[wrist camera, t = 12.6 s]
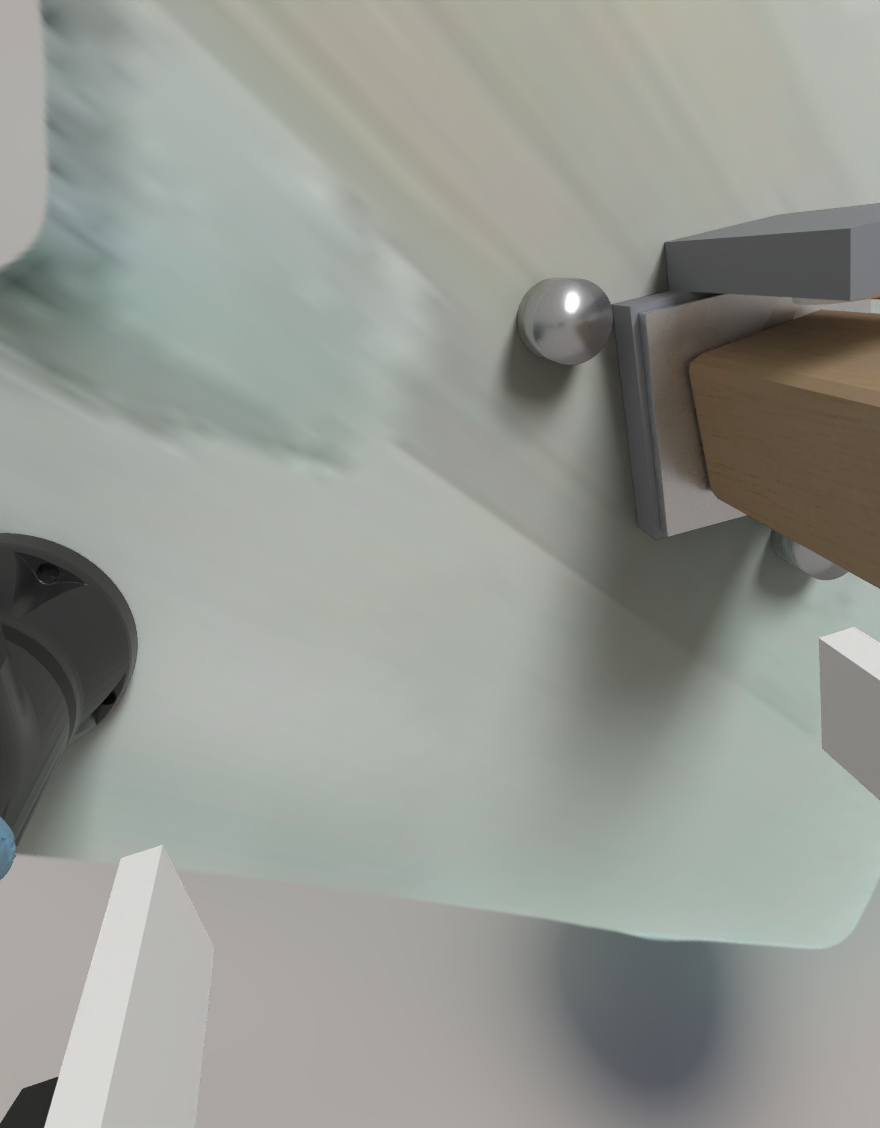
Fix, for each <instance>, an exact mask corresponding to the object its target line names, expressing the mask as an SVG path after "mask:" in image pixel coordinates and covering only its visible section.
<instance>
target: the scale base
mask: <svg viewBox="0 0 880 1128" xmlns="http://www.w3.org/2000/svg"><path fill="white" fill-rule="evenodd" d="M665 251H666V263H667V274H668V285H669V291H665V292H661V293H657V294H653V295H649V296H645V297H641V298H636V299H632V300H628V301H624V302H620V303H616V304H612V310H613V319H614V327H615V336H616V344H617V353H618V361H619V370H620V378H621V387H622V395H623V404H624V412H625V421H626V429H627V438H628V446H629V455H630V463H631V472H632V480H633V489H634V497H635V506H636V515H637V523H638V527H639V528H640V529H642V530H643V531H644V532H645V533H647V534H648V535H649V536H651V537H652V538H653V539H655V540H657V539H661V538H665V537H668V536H666V535H665V534H664V533H662V531H661V521H660V512H659V502H658V492H657V483H656V473H655V464H654V454H653V444H652V435H651V425H650V416H649V406H648V396H647V387H646V377H645V368H644V358H643V348H642V339H641V329H640V320H639V313H641V312H645V311H649V310H653V309H657V308H661V307H665V306H669V305H673V304H677V303H681V302H685V301H689V300H693V299H698V298H702V297H706V296H710V295H714V294H718V293H721V294H739V295H756V296H774V297H791V298H792V302H793V303H795V304H800V305H824V304H836V303H845V302H853V301H860V300H867V299H880V203H876V204H867V205H859V206H850V207H841V208H833V209H824V210H816V211H807V212H798V213H790V214H781V215H776V216H772V217H768V218H764V219H760V220H756V221H751V222H747V223H743V224H739V225H735V226H731V227H726V228H722V229H718V230H714V231H710V232H706V233H702V234H697V235H693V236H689V237H685V238H681V239H677V240H673V241H668V242H665Z"/></svg>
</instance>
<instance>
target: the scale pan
mask: <svg viewBox="0 0 880 1128" xmlns="http://www.w3.org/2000/svg"><path fill="white" fill-rule="evenodd" d="M820 309H822V310H836V311H849V312H862V313H870V311H871V299H867V300H860V301H853V302H845V303H836V304H824V305H800V304H795V303H793V302H792V298H791V297H774V296H756V295H739V294H721V293H718V294H714V295H710V296H706V297H702V298H698V299H693V300H689V301H685V302H681V303H677V304H673V305H669V306H665V307H661V308H657V309H653V310H649V311H645V312H641V313H639V320H640V329H641V339H642V348H643V358H644V368H645V377H646V387H647V396H648V406H649V416H650V425H651V435H652V444H653V454H654V464H655V473H656V483H657V492H658V502H659V512H660V521H661V531H662V533H664V534H665V535H666V536H668V537H669V536H672V535H676V534H680V533H684V532H687V531H691V530H695V529H698V528H702V527H706V526H709V525H713V524H717V523H720V522H724V521H728V520H731V519H735V518H739V517H743V516H746V514H744V513H743V512H741V511H739V510H737V509H735V508H734V507H732V506H730V505H728V504H726V503H725V502H723V501H721V500H719V499H717V497H716V496H715V495H714V493H713V492H712V491H711V487H710V482H709V477H708V471H707V466H706V461H705V455H704V450H703V445H702V440H701V434H700V429H699V424H698V418H697V413H696V408H695V402H694V397H693V392H692V387H691V381H690V376H689V366H690V362H691V361H693V360H694V359H695V358H697V357H698V356H699V355H701V354H702V353H705V352H708V351H710V350H713V349H716V348H718V347H721V346H724V345H727V344H729V343H732V342H735V341H737V340H740V339H743V338H745V337H748V336H751V335H753V334H756V333H759V332H761V331H764V330H767V329H769V328H772V327H775V326H777V325H780V324H783V323H786V322H788V321H791V320H794V319H796V318H799V317H802V316H804V315H807V314H810V313H812V312H815V311H818V310H820Z"/></svg>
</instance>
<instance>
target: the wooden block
mask: <svg viewBox="0 0 880 1128" xmlns="http://www.w3.org/2000/svg"><path fill="white" fill-rule="evenodd" d="M689 376H690V381H691V387H692V392H693V397H694V402H695V408H696V413H697V418H698V424H699V429H700V434H701V440H702V445H703V450H704V455H705V461H706V466H707V471H708V477H709V482H710V487H711V491H712V492H713V493H714V495H715V496H716V497H717V499H719V500H721V501H723V502H725V503H726V504H728V505H730V506H732V507H734V508H735V509H737V510H739V511H741V512H743V513H744V514H746V515H748V516H750V517H752V518H753V519H755V520H757V521H759V522H761V523H762V524H764V525H766V526H768V527H770V528H771V529H773V530H775V531H777V532H779V533H780V534H782V535H784V536H786V537H788V538H789V539H791V540H793V541H795V542H797V543H798V544H800V545H802V546H804V547H806V548H807V549H809V550H811V551H813V552H815V553H816V554H818V555H820V556H822V557H824V558H825V559H827V560H829V561H831V562H833V563H834V564H836V565H838V566H840V567H842V568H843V569H845V570H847V571H849V572H851V573H852V574H854V575H856V576H858V577H860V578H861V579H863V580H865V581H867V582H869V583H870V584H872V585H874V586H876V587H878V588H879V589H880V314H875V313H862V312H849V311H836V310H822V309H820V310H818V311H815V312H812V313H810V314H807V315H804V316H802V317H799V318H796V319H794V320H791V321H788V322H786V323H783V324H780V325H777V326H775V327H772V328H769V329H767V330H764V331H761V332H759V333H756V334H753V335H751V336H748V337H745V338H743V339H740V340H737V341H735V342H732V343H729V344H727V345H724V346H721V347H718V348H716V349H713V350H710V351H708V352H705V353H702V354H701V355H699V356H698V357H697V358H695V359H694V360H693V361H691V362H690V366H689Z"/></svg>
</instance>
